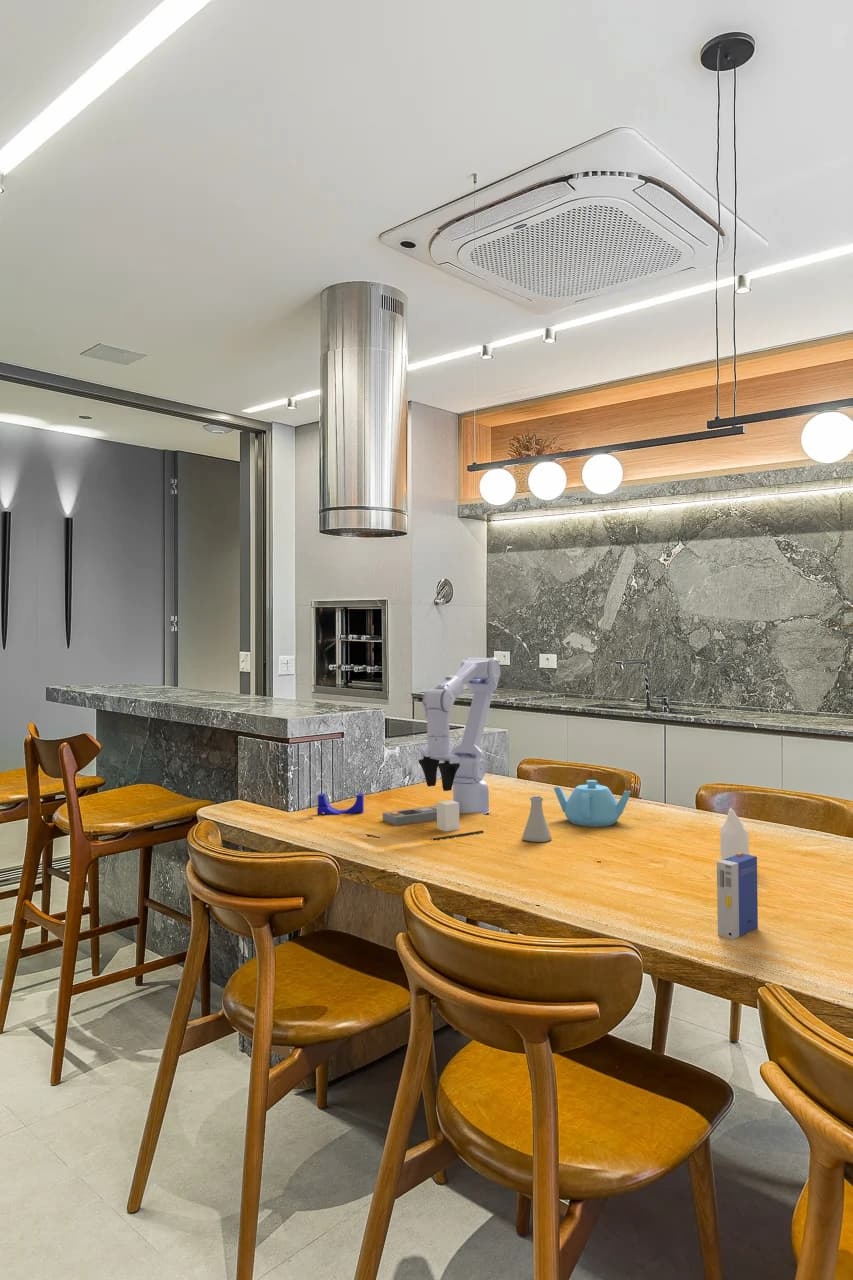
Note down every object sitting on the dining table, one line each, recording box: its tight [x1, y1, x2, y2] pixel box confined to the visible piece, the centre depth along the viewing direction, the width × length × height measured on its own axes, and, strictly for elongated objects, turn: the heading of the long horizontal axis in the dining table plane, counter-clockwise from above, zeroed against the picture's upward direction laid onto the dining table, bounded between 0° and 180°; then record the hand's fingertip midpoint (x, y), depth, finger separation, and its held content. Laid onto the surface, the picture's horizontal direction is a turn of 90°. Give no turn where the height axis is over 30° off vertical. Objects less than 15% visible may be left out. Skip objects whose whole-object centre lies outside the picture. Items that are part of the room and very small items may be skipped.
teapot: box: [553, 779, 632, 828], centre depth 212 cm, size 15×15×11 cm
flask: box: [522, 795, 553, 843], centre depth 194 cm, size 7×7×10 cm
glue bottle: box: [719, 807, 750, 860], centre depth 168 cm, size 6×12×6 cm
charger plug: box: [436, 799, 460, 832], centre depth 201 cm, size 4×4×7 cm
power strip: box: [382, 805, 437, 826], centre depth 213 cm, size 18×7×3 cm, turn 121°
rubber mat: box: [431, 830, 484, 841], centre depth 201 cm, size 14×10×1 cm
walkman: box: [716, 852, 759, 941], centre depth 131 cm, size 8×3×12 cm, turn 130°
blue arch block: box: [316, 793, 365, 816], centre depth 221 cm, size 12×4×6 cm, turn 88°
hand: (439, 788), depth 211 cm, fingers open, 7 cm apart
